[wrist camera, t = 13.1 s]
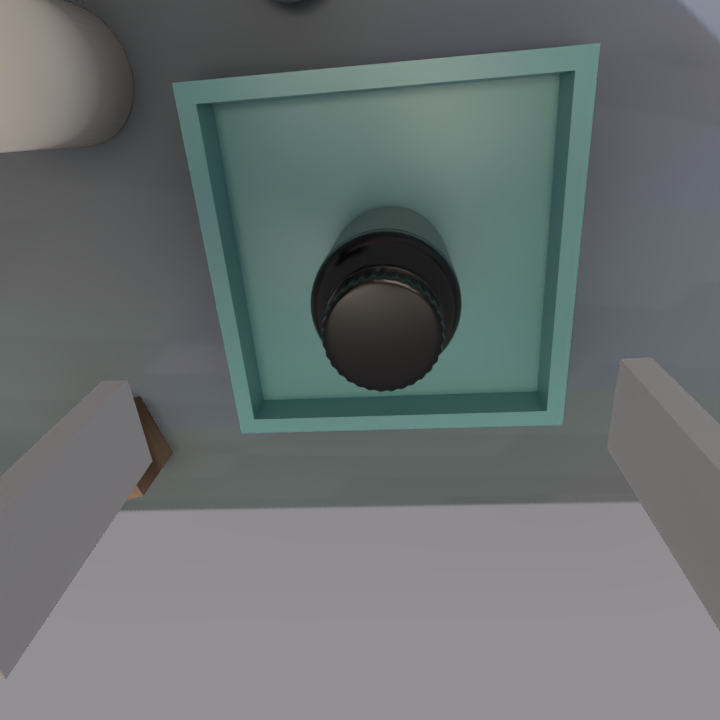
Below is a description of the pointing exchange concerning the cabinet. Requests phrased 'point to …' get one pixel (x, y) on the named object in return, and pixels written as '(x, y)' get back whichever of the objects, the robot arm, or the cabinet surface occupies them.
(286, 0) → the grey egg
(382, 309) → the supplement bottle
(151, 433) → the walnut block
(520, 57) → the tray
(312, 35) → the cabinet surface
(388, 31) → the cabinet surface
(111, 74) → the cream round piece
